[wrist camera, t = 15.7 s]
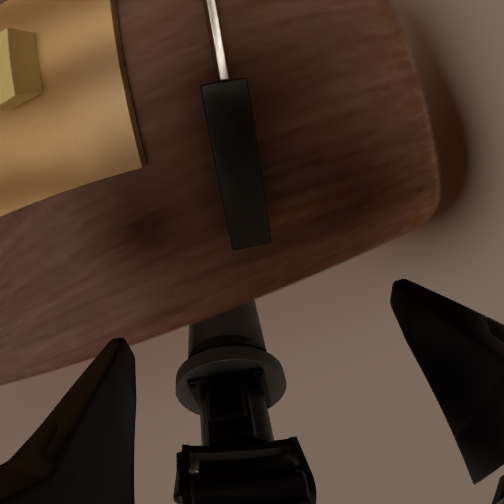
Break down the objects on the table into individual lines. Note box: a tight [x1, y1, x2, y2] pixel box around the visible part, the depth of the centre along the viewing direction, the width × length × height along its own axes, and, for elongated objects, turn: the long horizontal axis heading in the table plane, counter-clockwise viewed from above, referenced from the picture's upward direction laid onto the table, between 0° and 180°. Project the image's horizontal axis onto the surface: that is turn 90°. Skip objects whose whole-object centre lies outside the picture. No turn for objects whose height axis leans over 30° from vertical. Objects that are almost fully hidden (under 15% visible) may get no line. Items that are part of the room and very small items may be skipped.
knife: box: [200, 0, 271, 250], centre depth 13 cm, size 19×2×4 cm, turn 9°
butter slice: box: [0, 28, 43, 112], centre depth 9 cm, size 4×2×3 cm, turn 9°
